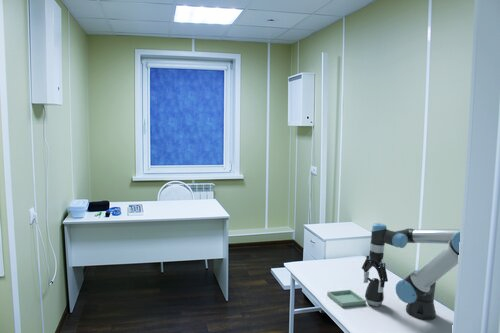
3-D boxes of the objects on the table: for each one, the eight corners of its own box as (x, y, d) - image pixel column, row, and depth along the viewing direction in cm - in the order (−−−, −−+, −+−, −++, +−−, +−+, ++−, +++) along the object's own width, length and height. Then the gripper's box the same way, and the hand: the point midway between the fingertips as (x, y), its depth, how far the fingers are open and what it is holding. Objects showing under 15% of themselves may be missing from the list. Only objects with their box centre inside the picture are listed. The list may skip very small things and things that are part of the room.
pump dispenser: (368, 298, 237) (371, 273, 235) (385, 304, 230) (388, 278, 228) (360, 303, 229) (363, 277, 227) (378, 309, 222) (381, 283, 221)
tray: (365, 304, 228) (365, 300, 228) (341, 307, 222) (342, 303, 222) (349, 293, 242) (350, 289, 242) (327, 295, 237) (327, 291, 237)
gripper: (397, 258, 216) (393, 296, 218) (368, 244, 239) (365, 278, 241) (385, 258, 213) (381, 297, 215) (358, 244, 236) (354, 279, 239)
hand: (372, 287), depth 228 cm, fingers open, 13 cm apart
